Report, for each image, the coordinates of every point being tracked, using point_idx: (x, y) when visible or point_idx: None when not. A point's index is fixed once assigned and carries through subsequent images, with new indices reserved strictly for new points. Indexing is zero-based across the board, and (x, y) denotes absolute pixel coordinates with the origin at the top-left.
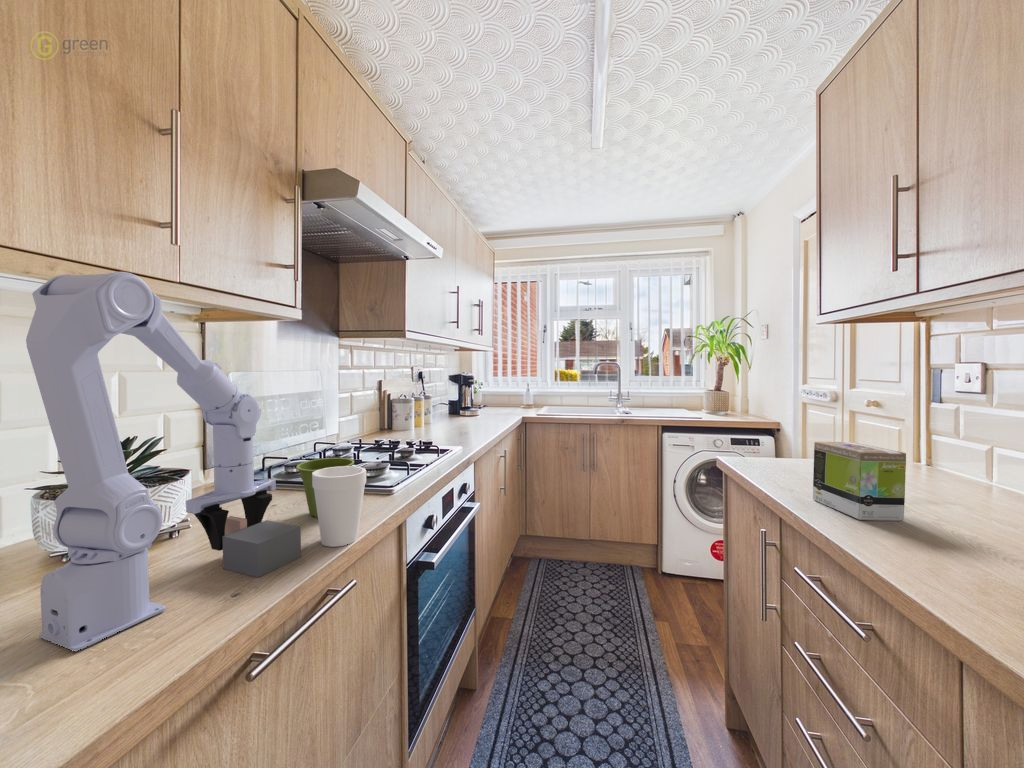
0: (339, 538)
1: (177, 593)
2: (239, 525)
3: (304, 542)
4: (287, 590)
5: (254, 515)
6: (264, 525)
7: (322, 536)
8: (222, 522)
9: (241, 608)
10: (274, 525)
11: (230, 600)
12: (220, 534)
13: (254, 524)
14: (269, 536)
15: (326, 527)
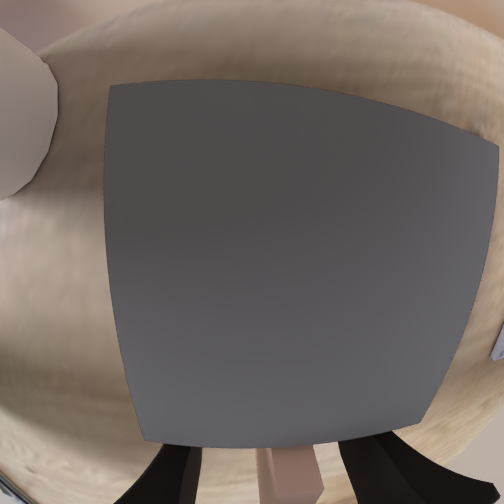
0: (32, 56)
1: (480, 302)
2: (316, 470)
3: (59, 247)
4: (408, 5)
5: (186, 499)
6: (218, 400)
7: (30, 135)
8: (428, 482)
9: (495, 78)
10: (184, 339)
11: (490, 131)
12: (399, 445)
13: (191, 458)
14: (410, 160)
15: (6, 86)
